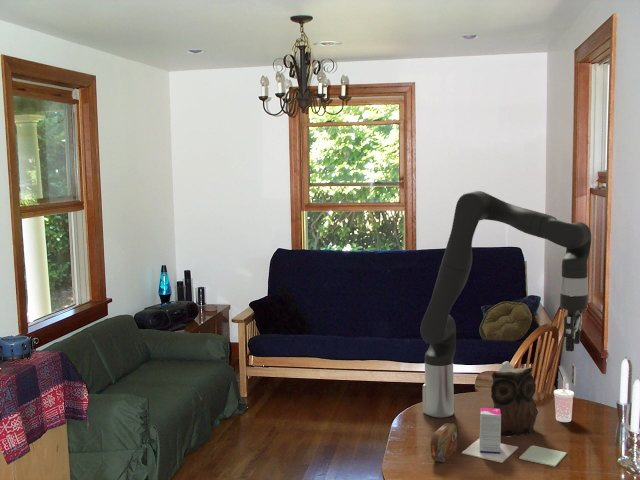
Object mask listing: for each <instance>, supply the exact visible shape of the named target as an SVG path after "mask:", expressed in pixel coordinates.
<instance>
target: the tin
mask: <svg viewBox="0 0 640 480" xmlns="http://www.w3.org/2000/svg"><path fill="white" fill-rule="evenodd" d="M458 444H459V430H458V426H457V424H456V423H450V422H449V423H448V422H446V423H443V424H442V425H441V426H440V427H439V428H438V429H436V430H435V432H433V434H432V436H431V439H430V456H431V459H432V460H433V461H434V462H440V463H445V462H446V461H447V460H448V459H449V458H450V457H451V456H452V455H453V454H454V453H455V452H456V451H457V448H458Z"/></svg>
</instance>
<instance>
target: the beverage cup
mask: <svg viewBox="0 0 640 480" xmlns="http://www.w3.org/2000/svg"><path fill="white" fill-rule="evenodd" d="M562 377H563V379H562V380H563V381H562V383H563V384H562V388H558V389H554V390H553V395H554V406H555V407H554V408H555V409H554V410H555V420H556V421H557V422H561V423H569V422H571V421H572V418H573V417H572V415H573V402H574V400H573V399H574V396H575V392H574V391H572V390H571V389H566V384H565V383H566V376H562Z"/></svg>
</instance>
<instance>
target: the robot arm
mask: <svg viewBox="0 0 640 480" xmlns="http://www.w3.org/2000/svg"><path fill="white" fill-rule="evenodd" d="M484 220H487V221H494V222H499V223H502V224H506V225H508V226H510V227H512V228H514V229H516V230H518V231H520V232H521V233H524V234H526V235H530V236H533V237H536V238H540V239H544V240H548V241H550V242H552V243H554V244H556V245H558V246H560V247H563V248H566V251H565V255H564V257H563V258H562V261H561V277H560V291H559V292H560V294H559V307H560V309H562V310H565V311H567V314H566V315H564V317H563V320H564V321H563V337H564V338H565V351H566V352H574V351H575V345H579V344H580V343H581V331H582V328H583V311H586V310H587V309H588V307H589V305H588V303H589V299H588V298H589V281H588V267H589V266H588V260H589V256H590V250H591V245H592V232H591V229H590V227H589V226H588V225H587V224H586V223H585V222H580V221H575V222H572V223H569V222H565V221H562V220H559V219H557V218H556V217H555V216H552V215H550V214H547V213H543V212H539V211H536V210H532V209H528V208H526V207H521V206H517V205H514V204H511V203H509V202H506V201H504V200H502V199H500V198H498V197H495V196H493V195H491V194H489V193H487V192H485V191H482V190H474V191H468V192H466V193H465V192H464V193H463V194H461V196H460V197H459V198H458V200H457V202H456V206H455V209H454V215H453V220H452V226H451V230H450V234H449V238H448V241H447V243H446V247H445V250H444V254H443V256H442V260H441V264H440V266H439V269H438V273H437V277H436V281H435V283H434V288H433V291H432V295H431V298H430V301H429V304H428V306H427V308H426V311H425V313H424V316H423V318H422V320H421V323H420V329H419V330H420V331H419V332H420V337H421V338H422V340H423V341H424V342H425V343H426V344H428V345H429V346H428V349H427V350H426V351H425V354H424V384H423V385H422V413H423V414H425V415H427V416H430V417H433V418H448V417H451V416H453V415H454V413H455V412H454V410H455V409H454V408H455V405H454V403H455V402H454V399H455V398H454V395H455V394H454V391H455V390H454V357H455V354H456V349H457V327H456V321H455V319H454V318H453V316H452V315H450V313H451V311H452V307H453V306H454V304H455V303H456V301H457V299H458V297H459V296H460V295H461V292H462V291H463V290H464V287H465V286H466V284H467V282H468V279H469V275H470V271H471V269H472V266H473V265H472V264H473V246H472V245H473V238H474V235H475V232H476V229H477V227H478V224H479V222H480V221H484Z"/></svg>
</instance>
